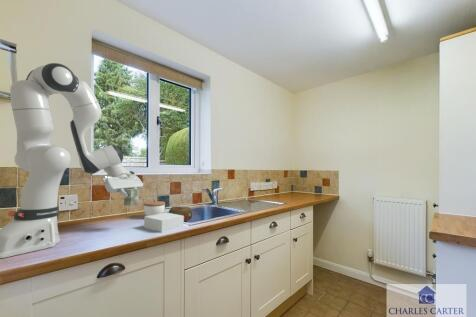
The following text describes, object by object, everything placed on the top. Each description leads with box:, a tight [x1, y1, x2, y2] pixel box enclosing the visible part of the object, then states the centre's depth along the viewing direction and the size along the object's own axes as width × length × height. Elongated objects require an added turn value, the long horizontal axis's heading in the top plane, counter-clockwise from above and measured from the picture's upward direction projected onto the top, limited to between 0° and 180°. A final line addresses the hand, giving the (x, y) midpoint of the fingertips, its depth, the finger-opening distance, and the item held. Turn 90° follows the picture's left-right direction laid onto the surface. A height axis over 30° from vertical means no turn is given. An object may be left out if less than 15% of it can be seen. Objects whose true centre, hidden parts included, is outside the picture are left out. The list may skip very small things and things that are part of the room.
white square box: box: [143, 212, 185, 233], centre depth 118 cm, size 14×14×6 cm
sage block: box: [123, 189, 140, 207], centre depth 115 cm, size 5×5×8 cm
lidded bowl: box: [143, 198, 166, 216], centre depth 141 cm, size 13×13×11 cm
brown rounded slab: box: [168, 205, 194, 223], centre depth 134 cm, size 15×3×8 cm, turn 76°
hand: (132, 196), depth 114 cm, fingers closed on sage block, 5 cm apart
